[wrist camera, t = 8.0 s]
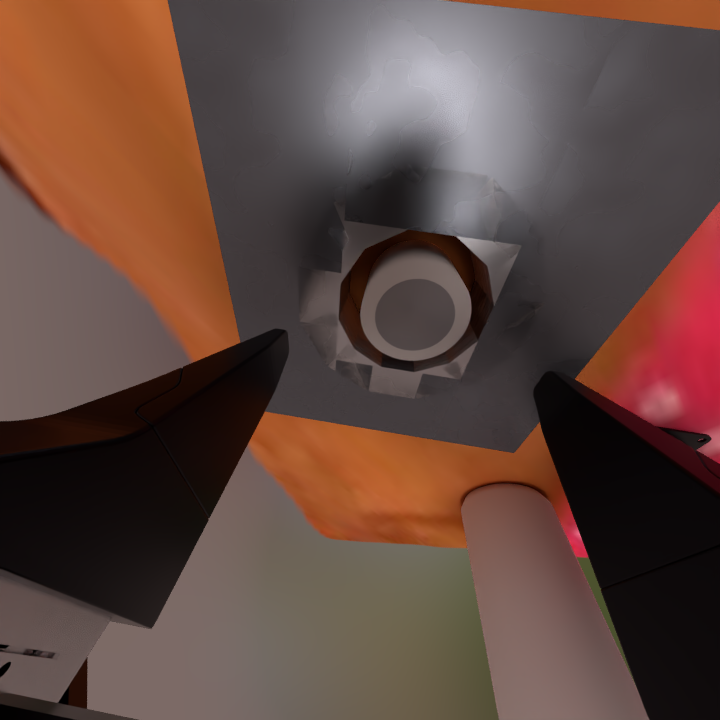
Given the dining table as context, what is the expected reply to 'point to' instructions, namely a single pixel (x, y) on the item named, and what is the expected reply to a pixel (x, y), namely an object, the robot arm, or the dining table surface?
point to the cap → (414, 302)
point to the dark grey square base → (446, 186)
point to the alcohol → (541, 614)
